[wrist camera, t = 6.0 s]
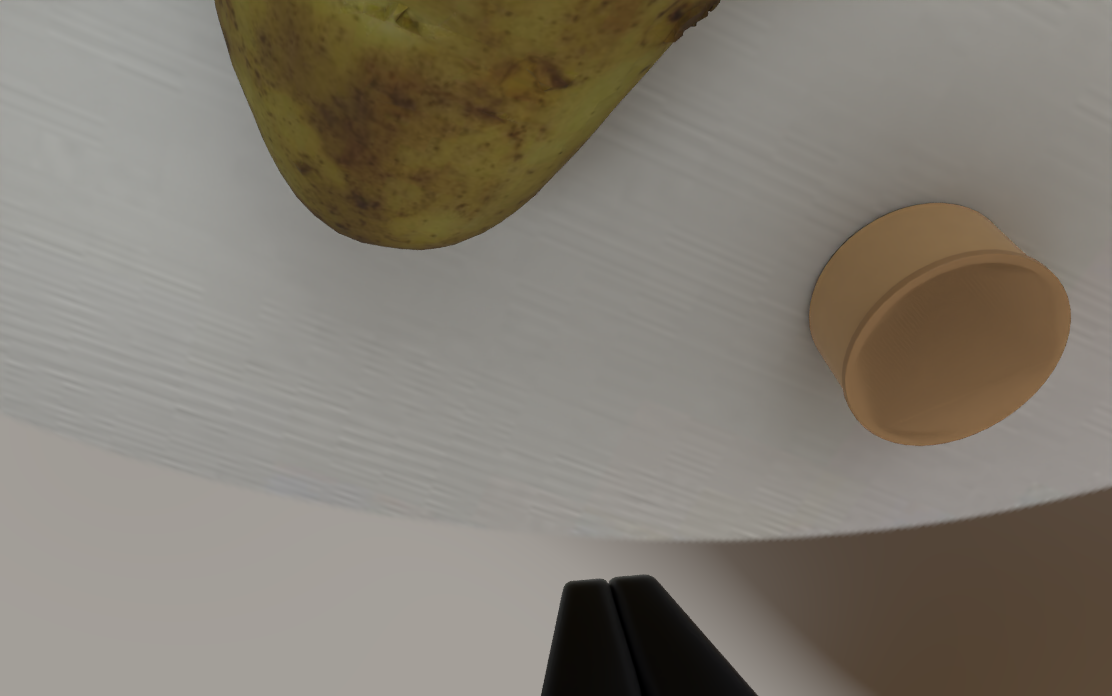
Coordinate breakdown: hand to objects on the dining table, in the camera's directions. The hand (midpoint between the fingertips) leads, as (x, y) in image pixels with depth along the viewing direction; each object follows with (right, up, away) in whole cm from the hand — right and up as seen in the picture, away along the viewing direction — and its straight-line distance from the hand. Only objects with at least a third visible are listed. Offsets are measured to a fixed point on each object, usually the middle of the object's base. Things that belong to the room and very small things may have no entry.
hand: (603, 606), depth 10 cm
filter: (+8, +4, +14) cm, 17 cm away
